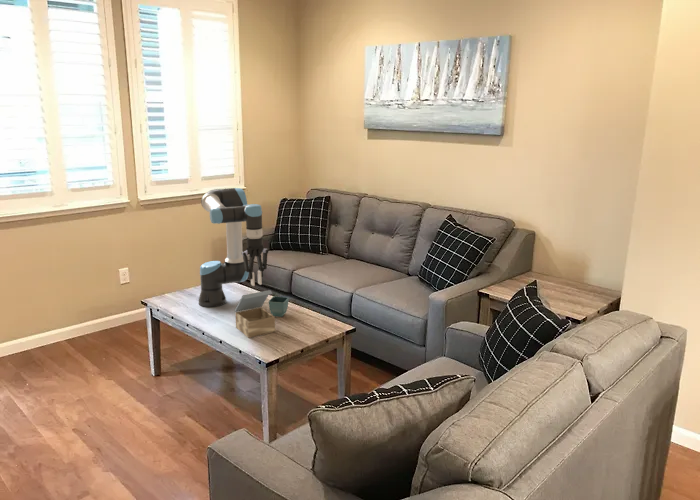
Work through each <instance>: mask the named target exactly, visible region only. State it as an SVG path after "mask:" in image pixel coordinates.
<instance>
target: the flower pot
mask: <svg viewBox="0 0 700 500" xmlns="http://www.w3.org/2000/svg"><path fill="white" fill-rule="evenodd" d="M289 300H290V299H289V296H288V297H287V296H276V295H275V296H272V297H271V298H269V300H268V307H269V311H270V312H269V313H270V314H271V315H273V316H274V317H278V318H279V317H280V318H283V317H284V316H285V314H286V313H287V311H288V307H289V303H290V302H289Z"/></svg>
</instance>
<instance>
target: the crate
mask: <svg viewBox="0 0 700 500" xmlns="http://www.w3.org/2000/svg"><path fill="white" fill-rule="evenodd" d="M235 329H237V330H239V331H240V332H241V333H242V334H244V336H246V338H248V339H251V338H256V337H260V336H264V335H270V334H273V333H276V316H273V315H272V314H271V312H268V311H267V310H266V309H264V308H263V307H259V308H254V309H249V310H244V311H239V312H235Z"/></svg>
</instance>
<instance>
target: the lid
mask: <svg viewBox="0 0 700 500" xmlns="http://www.w3.org/2000/svg"><path fill="white" fill-rule="evenodd" d="M270 295H273V292H272V290H271V289H269V290H263V291H258V292H253V293H247V294H243V295H242V296H241V298H240V299H239V302H238V304H237V305H236V307H235V309H234V312H235V313H236V312H241V311H246V310H251V309H256V308H263V305H264V303H265V301H266V300H267V299H268V296H270Z"/></svg>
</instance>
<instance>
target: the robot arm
mask: <svg viewBox="0 0 700 500" xmlns="http://www.w3.org/2000/svg"><path fill="white" fill-rule="evenodd" d="M200 203H201V206H202V208H203V209H204V211H206V212H208V213H209V220H210V223H211V224H214V225H215V224H217V225H220V224H225V230H226V232H225V235H226V258H224V263H223V262H221V261H220V260H212V261H206V262H204V263H202V264H201V265H200V266H199V276H200V293H199V297H198V305H199V306H201V307H206V308H207V307H208V308H213V307H218V306H219V307H220V306H223V305H225V304H226V303H227V297H226V295H225V291H224V290H223V285H224V284H225V285H227V284H235V283H242V282H247V280H248V278H249V279H250V285H251V286H252V287H255V285H256V284H255V272H254V265H255V264H254V262H255V258H256V259H257V260H256V262H257V266H258V270H257V284H258V285H260V286H261V285H262V282H263V281H262V278H263V277H264V271H265V270H267V267H268V266H267V265H268V254H269V251H270V250H269V249H268V248H264V241H263V240H264V239H263V209H262V205H261V204H256V203H251V204H248V201H247V195H246V193H245V190H244V189H243V188H240V187H230V188H214V189H211V190H209V191H207V192H205V194H203V196H202V197H201V200H200ZM243 223H245V227H246V228H245V229H246V230H245V231H246V237H247V238H246V249H245V250H244V251H243V228H242V227H243ZM248 257H249V259H248Z"/></svg>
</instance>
